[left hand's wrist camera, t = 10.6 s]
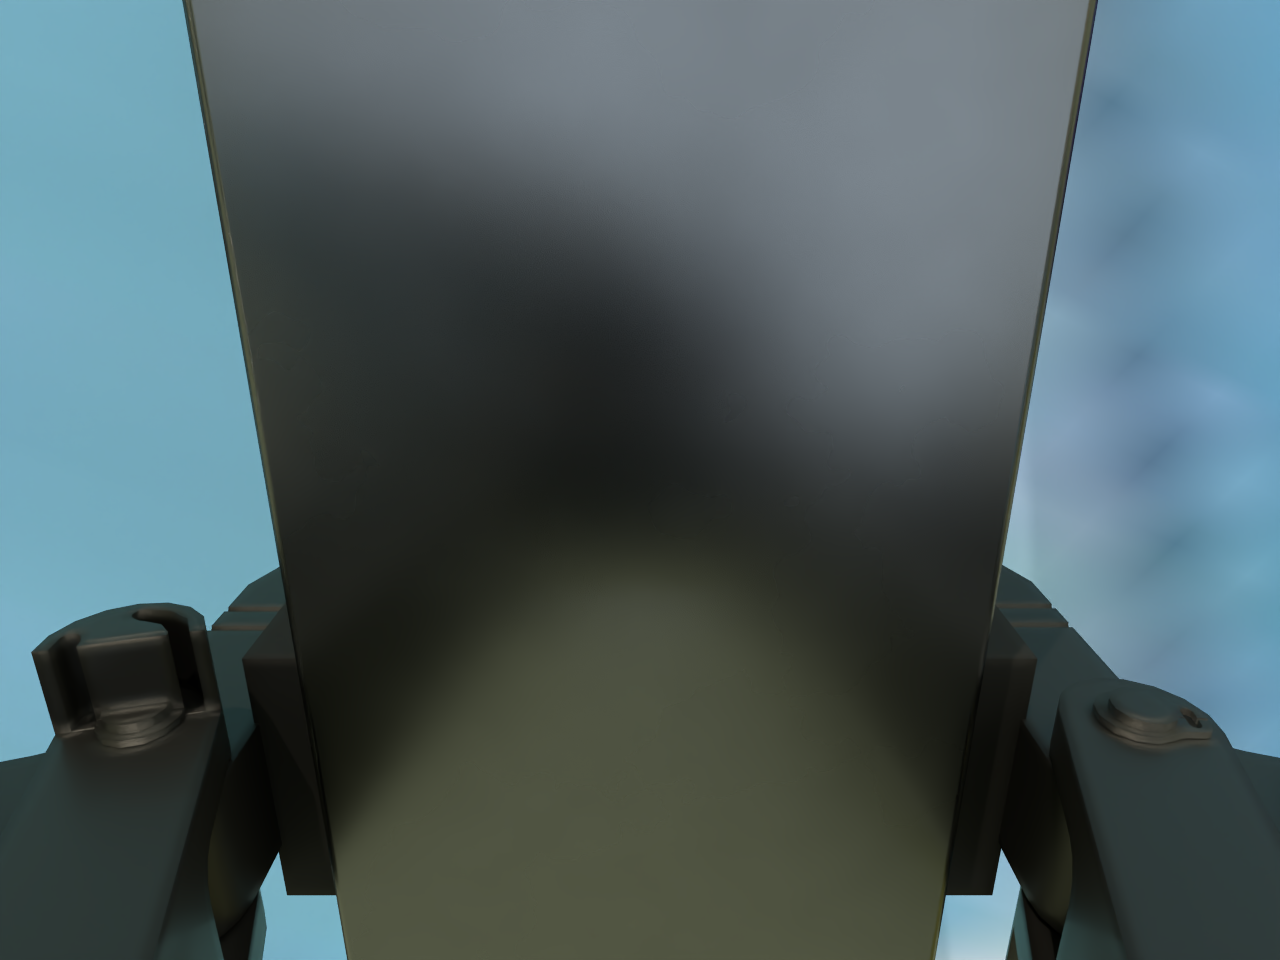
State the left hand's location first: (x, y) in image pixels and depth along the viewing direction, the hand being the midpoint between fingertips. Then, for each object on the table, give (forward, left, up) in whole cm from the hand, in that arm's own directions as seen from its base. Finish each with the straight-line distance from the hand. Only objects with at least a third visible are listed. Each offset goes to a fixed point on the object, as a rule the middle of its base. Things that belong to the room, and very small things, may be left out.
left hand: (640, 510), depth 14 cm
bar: (+10, +2, -1) cm, 10 cm away
